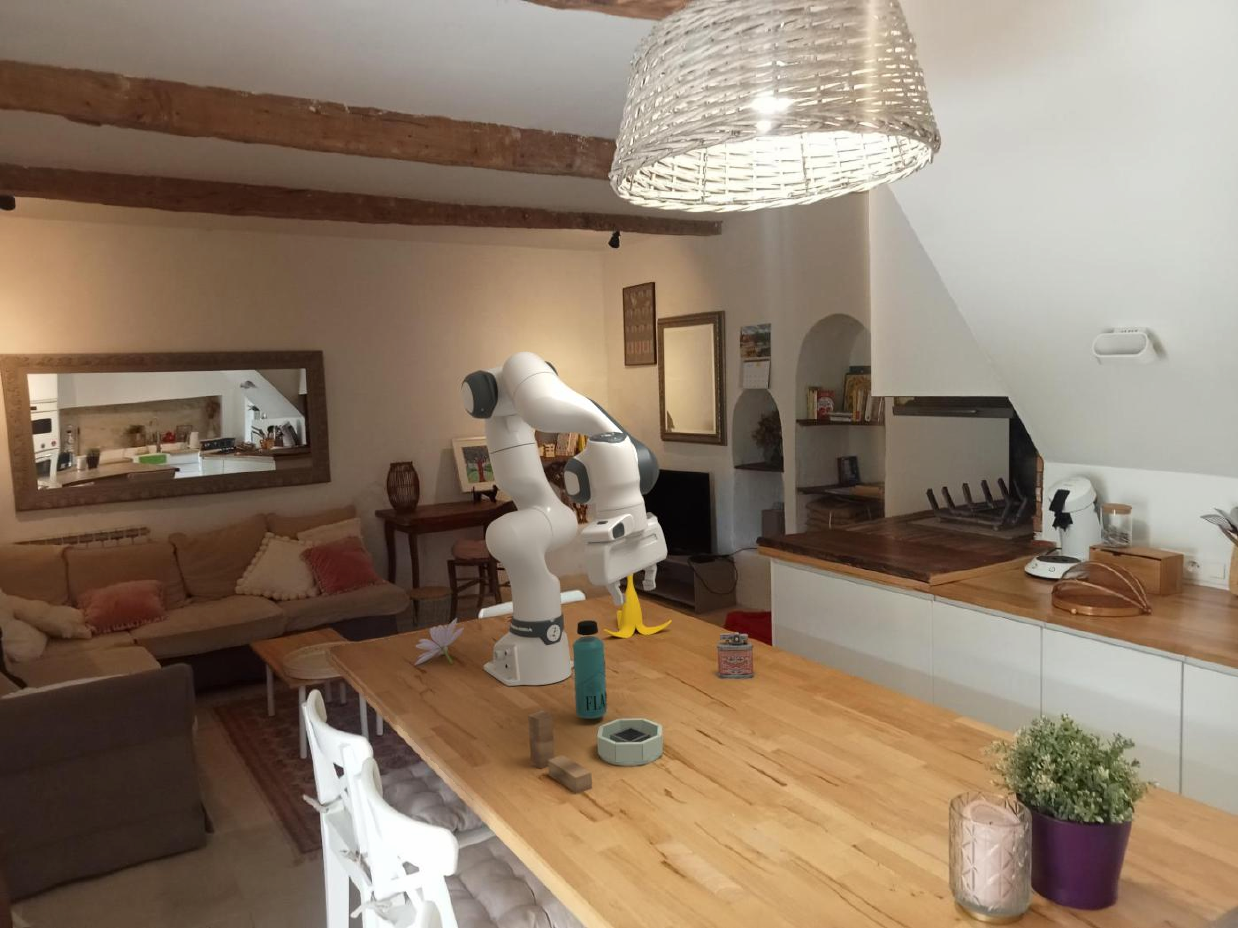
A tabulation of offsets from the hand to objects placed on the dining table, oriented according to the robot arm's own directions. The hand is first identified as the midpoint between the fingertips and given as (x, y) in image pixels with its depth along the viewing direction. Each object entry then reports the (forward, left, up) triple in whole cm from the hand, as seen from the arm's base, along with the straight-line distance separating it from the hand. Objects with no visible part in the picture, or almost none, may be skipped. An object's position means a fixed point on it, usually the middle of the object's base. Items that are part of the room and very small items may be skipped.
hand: (635, 596), depth 161 cm
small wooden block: (+1, -18, -29) cm, 34 cm away
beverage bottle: (-17, +2, -29) cm, 33 cm away
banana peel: (-55, +46, -29) cm, 77 cm away
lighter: (-12, +40, -29) cm, 51 cm away
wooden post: (-8, -17, -28) cm, 34 cm away
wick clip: (0, -3, -28) cm, 28 cm away
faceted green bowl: (0, -3, -28) cm, 28 cm away
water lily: (-74, +1, -29) cm, 79 cm away
